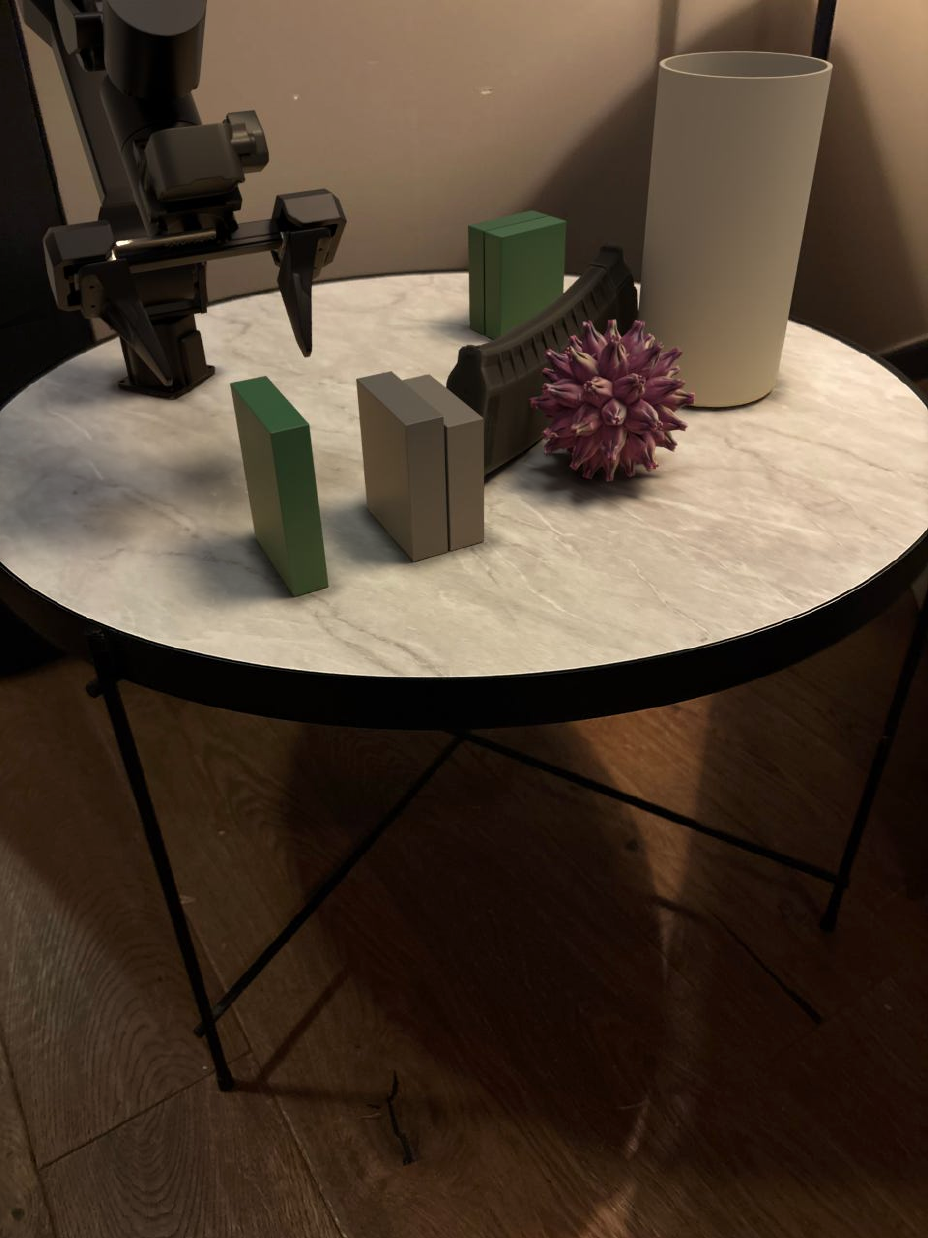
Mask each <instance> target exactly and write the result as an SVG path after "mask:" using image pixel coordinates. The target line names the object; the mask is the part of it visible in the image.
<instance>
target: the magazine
mask: <svg viewBox="0 0 928 1238" xmlns="http://www.w3.org/2000/svg"><path fill="white" fill-rule="evenodd" d="M632 271H633V270H632V269H631V268H630V266H628V264H627V263H626V259H625V255H624V248H623V247H622V245H620V244H617V243H610V242H604V243H603V244H602V245H601V247H600V248H599V252H598V255H597V257H596V258H595V259H593V260H592V261H591V262H590V263H589V264H588V265H587V268H586V270H585V271H584V272H582V274H581V275H580V276H579V277H578V278H577V279H576V280H575V281H574V282H573V283H572V284H571V285H570V286H569V287H568V288H567V289H566V290H565V291H563V294H562V295H561V296H560V297H559V298H557V299H556V300H555V301H554V302H553V303H551V304H550V305H549V306H548V307H547V308H545V309H544V310H543V311H541V312H540V313H539V314H537V315H536V316H534V317H533V318H531V319H529V320H528V321H526V322H525V323H523V324H521V325H519V326H518V327H516V328H514V329H513V330H511V331H510V332H508V333H507V334H505V335H503V336H501V337H499V338H497V339H495V340H494V339H492V340H490V341H487V342H485V343H482V344H478V345H474V344H466V345H464V346H462V347H460V348H459V350H458V353H457V354H458V355H457V361H456V364H455V365H454V367H453V368H452V370H451V371H450V373H449V374H448V376H447V379H446V382H445V387H446V388H447V389H448V390H449V391H451V392H452V393H453V394H454V395H455V396H457V397H458V398H459V399H460V400H462V401H463V402H464V403H465V404H466V405H468V406H469V407H470V408H471V409H473V410H474V411H475V412H476V413H477V414H479V415H480V416H481V417H482V418H483V425H484V477H485V476H487V475H488V474H490V473H491V472H492V471H494V470H496V469H498V468H499V467H501V466H503V465H505V464H506V463H507V462H509V461H511V460H512V459H514V458H515V457H517V456H519V455H520V454H522V453H523V452H525V451H526V450H528V449H529V448H530V447H532V446H533V445H534V444H537V442H538V441H540V440H542V438H544V437H543V433H542V431H544V430H545V429H547V428H548V427H549V426H550V425H551V423H552V421H553V419H554V418H546V416H545V412H543V411H542V410H540V409H537V408H531V407H530V406H531V404H530V403H531V402H530V401H529V399H530V398H535V397H539V396H541V395H542V394H544V392H542V391H543V389H542V387H543V386H544V384H552V383H551V382H550V381H549V379H547V378H546V377H544V376H542V371H543V370H544V368H547V369H550V370H553V368H552V366H551V363H550V362H549V361H548V360H547V359H546V358H545V357H544V355H543V354H544V353H546V351H547V350H548V349H550V350H552V351H554V352H555V353H559V354H566V353H565V351H566V348H568V347H570V343H569V341H568V339H570V337H571V336H574V335H575V336H576V337H577V338H578V340H579V341H581V342H582V341H583V335H584V331H583V322H587V323H588V321H591V322H592V324H593V327H594V329H595V330H596V331H597V332H598V333H600V334H601V335H602V336H604V334H605V332H606V330H607V327H608V321H611V320H614V319H615V320H616V326H617V331H618V333H619V335H620V336H621V338H622V337H623V336H624V335H625V334H626V333H627V332H628V331H629V330H630V329H631V328H632V326H633V324H634V322H635V320H637V319H638V307H639V296H638V295H639V294H638V289H637V286H635V281H634V276H633V274H632Z"/></svg>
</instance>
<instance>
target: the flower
mask: <svg viewBox="0 0 928 1238" xmlns="http://www.w3.org/2000/svg"><path fill="white" fill-rule="evenodd" d="M644 326H645V321H642V322H640V321H637V320H635V322H634V324H633V326H632V328H631V329H630V330H629V331H628V332H627V333H626V334H625V335H624V336H623V337H622V338H621V336H620V335H619V333H618V331H617V326H616V320H615V319H614V320H611V321H608V327H607V330H606V332H605V334H604V336H602V335H601V334H600V333H598V332H597V331H596V330H595V329H594V327H593V324H592V322H591V321H588V323H587V322H583V331H584V335H583V341H582V342H581V341H579V340H578V338H577V337H576V336H575V335H574V336H571V337H570V339H568V341H569V343H570V347H568V348H566V351H565V353H566V354H559V353H555V352H554V351H552V350H550V349H548V350H547V351H546V353H544V354H543V355H544V357H545V358H546V359H547V360H548V361H549V362H550V363H551V366H552V368H553V370H550V369H547V368H544V370H543V371H542V376H544V377H546V378H547V379H549V381H550V382H551V383H552V384H544V386H543V387H542V389H543V391H542V392H544V394H542V395H541V396H539V397H535V398H530V399H529V401H530V402H531V403H530V404H531V406H530V407H531V408H537V409H540V410H542V411H543V412H545V416H546V418H554V419H553V421H552V423H551V425H550V426H549V427H548V428H547V429H545V430H544V431H542V433H543V437H542V438H544V440H545V441H547V440H548V441H547V442H545V444H544V446H543V448H545V451H544V452H545V453H546V454H551V453H552V452H555V451H558V450H559V451H560V450H566V451H567V453H568V454H570V455H572V460H571V462H570V464H569V467H570V468H571V469H572V470H574V471H577V470H578V469H579V467H580V466H581V465H582V468H583V470H582V471H583V472H582V478H585V479H587V480H588V479H589V480H592V478H593V476H594V474H595V472H597V471H598V470H599V469H600V468H601V467H603V469H604V472H605V475H606V482H611V481H613V480H614V474H615V471H616V469H617V466H618V465H620V466H622V468H623V469H624V472H625V474H626V476H627V477H629V478H632V477H633V476H634V477H635V475H636V468H635V467H636V463H637V464H640V465H641V466H643V467H644V468H645V470H646V471H647V472H648V473H650V472H651V471H652V470H655V471H656V470H657V468H659V463H658V461H657V459H656V447H658V448H665V449H666V450H668V451H670V452H674V453H675V450H676V447H677V446H678V441H676V439H674V438H673V435H672V433H671V432H674V431H682V432H687V431H686V429H687V428H688V427H689V424H688V423H687V422H685V421H683V420H681V419H680V418H679V417H678V416H677V415H676V414H675V412H677V411H678V410H679V409H681V408H682V407H685V406H690V404H694V403H695V402H694V401H695V398H694V396H695V393H689V392H684V391H682V390H680V389H681V388H683V387H684V385H685V384H686V383H685V381H683V380H682V379H676V380H674V379H673V377H674V376H675V375H676V374H678V373H679V372H680V368H679V366H678V365H676V366H674V367H672V365H673V364H674V362H675V361H676V360H677V359H678V358H679V357H680V356H681V355H682V353H683V350H681V351H679V347H676V348H674V349H672V350H671V351H669V352H665V353H660V352H661V350H662V349H663V348H664V345H662V343H661V342H657V343H656V344H655V345H654V346H652V343H653V341H654V339H655V338H654V337H653V335H650V334H647V335H646V336H645V337H644V338H643V329H644Z"/></svg>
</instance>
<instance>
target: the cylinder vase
mask: <svg viewBox="0 0 928 1238" xmlns="http://www.w3.org/2000/svg"><path fill="white" fill-rule="evenodd" d="M658 67H659V68H658V78H657V88H656V101H655V112H654V113H655V114H654V125H653V135H652V145H651V146H652V148H651V160H650V171H649V182H648V193H647V205H646V215H645V228H644V242H643V250H642V263H641V273H640V286H639V296H638V319H637V321H640V322H642V321H645V326H644V329H643V338H644V337H645V336H646V335H647V334H650V335H653V337H654V338H655V339H654V341H653V343H652V346H654V345H655V344H656V343H657V342H661V343H662V345H664V348H663V349H662V350H661V352H660V353H665V352H669V351H671V350H672V349H674V348H676V347H679V351H681V350H683V353H682V355H681V356H680V357H679V358H678V359H677V360H676V361H675V362H674V364H673V365H672V367H674V366H676V365H678V366H679V368H680V372H679V373H678V374H676V375H675V376H674V377H673V379H674V380H676V379H682V380H683V381H685V383H686V384H685V385H684V387H683V388H681V389H680V390H682V391H684V392H689V393H695V396H694V398H695V401H694V402H695V403H694V404H690V405H689V406H692V407H697V408H698V407H699V408H728V407H736V406H741V405H745V404H749V403H752V402H755V401H757V400H760V399H761V398H763V397H765V396H767V395H768V394H769V393H770V392H772V390H773V389H774V387H775V386H776V384H777V382H778V377H779V372H780V365H781V360H782V354H783V348H784V344H785V342H784V341H785V338H786V332H787V328H788V327H787V326H788V320H789V315H790V309H791V304H792V298H793V292H794V286H795V282H796V275H797V269H798V266H799V265H798V263H799V259H800V252H801V247H802V241H803V235H804V231H805V230H804V229H805V224H806V219H807V214H808V207H809V204H810V203H809V201H810V195H811V190H812V184H813V180H814V174H815V170H816V169H815V168H816V164H817V163H816V162H817V157H818V151H819V146H820V140H821V135H822V130H823V124H824V117H825V111H826V106H827V100H828V95H829V91H830V90H829V89H830V82H831V77H832V72H833V64H832V63H831V62H830V61H827V60H824V59H822V58H819V57H818V58H817V57H812V56H809V55H808V56H806V55H802V54H795V53H794V54H792V53H785V52H784V53H782V52H769V51H768V52H767V51H739V50H738V51H708V52H706V51H705V52H694V53H686V54H685V53H684V54H680V55H674V56H669V57H667V58H664V59H662V60H661V61H660V62H659V66H658Z"/></svg>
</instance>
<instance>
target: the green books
mask: <svg viewBox="0 0 928 1238" xmlns="http://www.w3.org/2000/svg"><path fill="white" fill-rule="evenodd" d="M566 237H567V220H564V219H561V218H559V217H555V216H553V215H548V214H545V213H542V212H539V211H537V210H534V209H533V210H531V209H530V210H528V211H524V212H518V213H515V214H510V215H506V216H502V217H499V218H493V219H490V220H485V221H480V222H477V223H473V224H468V225H467V245H468V246H467V247H468V248H467V250H468V252H467V253H468V258H467V259H468V312H469V313H468V314H469V315H468V316H469V318H468V319H469V323H468V324H469V329H471V330H472V331H475V332H476V333H479V334H481V335H483V336H486V337H487V338H490V339H492V340H495V339H497V338H499V337H501V336H503V335H505V334H507V333H508V332H510V331H511V330H513V329H514V328H516V327H518V326H519V325H521V324H523V323H525V322H526V321H528V320H529V319H531V318H533V317H534V316H536V315H537V314H539V313H540V312H541V311H543V310H544V309H545V308H547V307H548V306H549V305H550V304H551V303H553V302H554V301H555V300H556V299H557V298H559V297H560V296H561V295H562V294H563V293H564V287H565V285H564V284H565V261H566V239H567V238H566Z"/></svg>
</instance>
